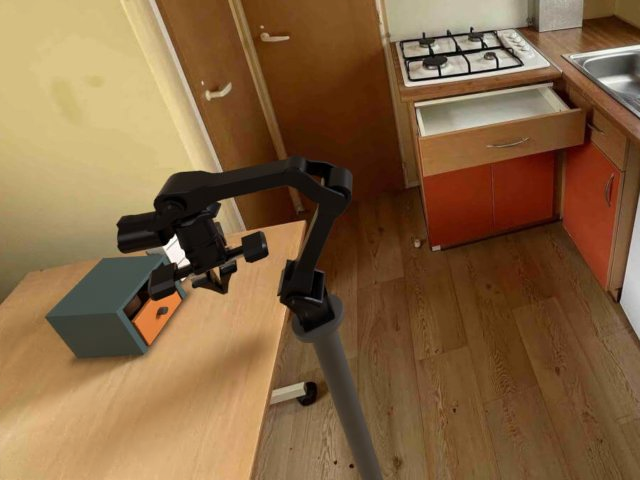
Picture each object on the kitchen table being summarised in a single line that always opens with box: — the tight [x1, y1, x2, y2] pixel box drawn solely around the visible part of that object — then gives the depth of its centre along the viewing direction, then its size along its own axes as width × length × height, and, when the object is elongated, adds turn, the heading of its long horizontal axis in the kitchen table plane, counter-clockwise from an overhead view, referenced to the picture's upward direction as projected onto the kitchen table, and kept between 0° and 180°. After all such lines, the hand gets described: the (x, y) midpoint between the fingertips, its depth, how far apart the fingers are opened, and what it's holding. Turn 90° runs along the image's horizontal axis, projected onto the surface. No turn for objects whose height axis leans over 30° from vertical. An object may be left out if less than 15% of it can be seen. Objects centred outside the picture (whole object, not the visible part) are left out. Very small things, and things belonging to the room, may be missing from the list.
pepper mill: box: [123, 294, 144, 322], centre depth 88 cm, size 5×5×10 cm
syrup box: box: [143, 234, 190, 282], centre depth 101 cm, size 6×6×14 cm
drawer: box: [131, 290, 182, 347], centre depth 90 cm, size 13×11×8 cm
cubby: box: [44, 255, 187, 360], centre depth 89 cm, size 13×14×13 cm
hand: (225, 292), depth 85 cm, fingers closed
